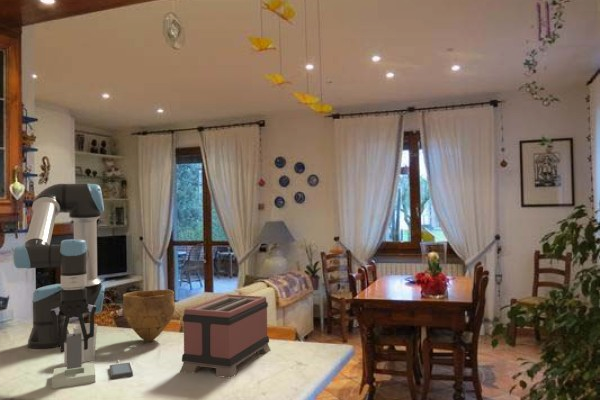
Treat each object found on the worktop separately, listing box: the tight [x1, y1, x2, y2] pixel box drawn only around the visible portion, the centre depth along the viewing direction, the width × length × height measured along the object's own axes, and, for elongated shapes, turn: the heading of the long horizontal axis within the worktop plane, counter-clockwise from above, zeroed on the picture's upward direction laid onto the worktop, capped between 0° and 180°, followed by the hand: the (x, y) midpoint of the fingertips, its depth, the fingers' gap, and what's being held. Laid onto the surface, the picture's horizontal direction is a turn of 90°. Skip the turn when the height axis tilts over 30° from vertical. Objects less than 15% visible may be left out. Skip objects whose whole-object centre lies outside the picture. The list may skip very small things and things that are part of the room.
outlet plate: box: [51, 362, 96, 389], centre depth 155 cm, size 12×12×3 cm
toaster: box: [179, 293, 271, 379], centre depth 173 cm, size 19×34×21 cm, turn 159°
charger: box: [66, 332, 83, 369], centre depth 155 cm, size 4×4×10 cm
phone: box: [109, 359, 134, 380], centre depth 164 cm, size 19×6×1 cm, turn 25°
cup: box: [72, 322, 98, 363], centre depth 175 cm, size 8×8×12 cm
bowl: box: [122, 289, 176, 342], centre depth 198 cm, size 21×20×20 cm
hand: (74, 361), depth 155 cm, fingers closed on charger, 4 cm apart
